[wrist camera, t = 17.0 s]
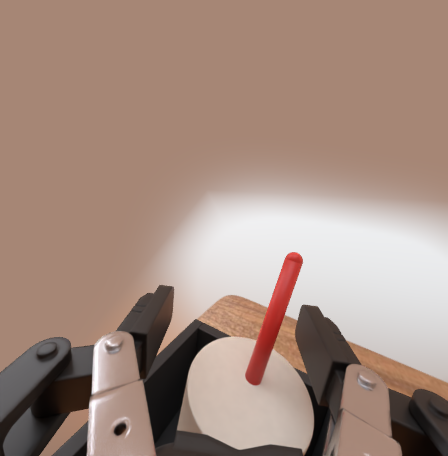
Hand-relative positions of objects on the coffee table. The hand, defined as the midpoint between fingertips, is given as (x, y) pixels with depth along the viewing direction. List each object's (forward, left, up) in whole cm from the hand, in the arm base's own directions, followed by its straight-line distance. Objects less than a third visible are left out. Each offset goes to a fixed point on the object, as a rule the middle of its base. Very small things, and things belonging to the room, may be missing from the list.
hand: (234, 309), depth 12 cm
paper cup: (+1, -2, -12) cm, 12 cm away
